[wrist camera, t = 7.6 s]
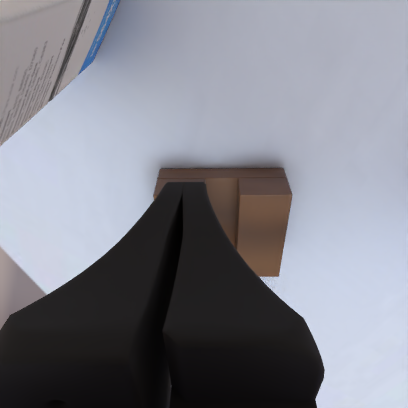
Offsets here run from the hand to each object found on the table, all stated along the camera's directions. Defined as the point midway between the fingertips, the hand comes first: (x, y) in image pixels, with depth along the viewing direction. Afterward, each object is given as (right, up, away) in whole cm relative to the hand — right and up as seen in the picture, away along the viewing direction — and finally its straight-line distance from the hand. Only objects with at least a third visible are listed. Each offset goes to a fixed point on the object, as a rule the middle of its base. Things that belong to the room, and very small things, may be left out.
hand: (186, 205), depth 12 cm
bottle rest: (+2, 0, +12) cm, 12 cm away
